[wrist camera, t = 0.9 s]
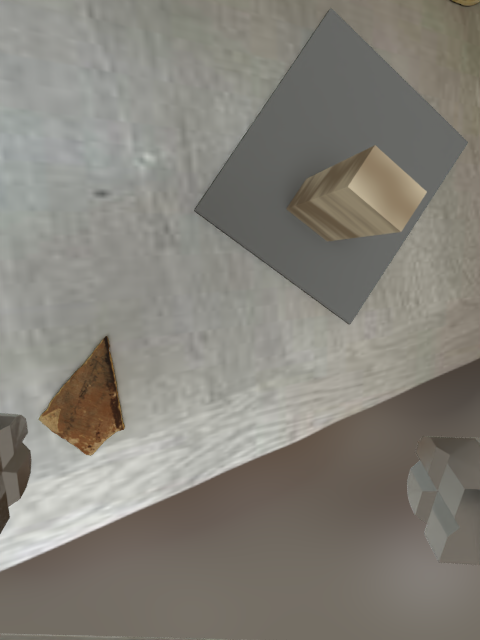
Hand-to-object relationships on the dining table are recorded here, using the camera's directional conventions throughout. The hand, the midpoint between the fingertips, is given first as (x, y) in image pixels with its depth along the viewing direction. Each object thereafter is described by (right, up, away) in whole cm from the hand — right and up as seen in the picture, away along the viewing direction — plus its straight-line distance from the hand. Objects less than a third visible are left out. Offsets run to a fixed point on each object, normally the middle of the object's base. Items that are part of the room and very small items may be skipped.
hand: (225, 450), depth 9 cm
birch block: (+9, +15, +40) cm, 44 cm away
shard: (-16, -5, +37) cm, 41 cm away
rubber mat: (+11, +19, +41) cm, 46 cm away
